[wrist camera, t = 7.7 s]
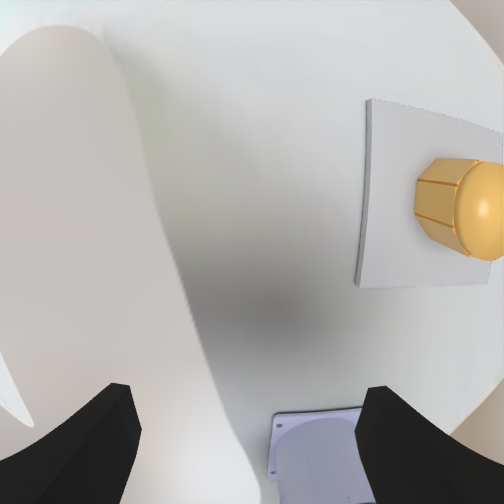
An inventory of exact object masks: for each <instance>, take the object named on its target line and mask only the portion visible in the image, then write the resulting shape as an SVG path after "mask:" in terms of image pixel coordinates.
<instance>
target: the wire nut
mask: <svg viewBox="0 0 504 504" xmlns="http://www.w3.org/2000/svg"><path fill="white" fill-rule="evenodd" d="M417 179H418V180H419V181H416V190H415V203H414V213H416V214H415V217H416V218H417V220H418V222H419V223H420V225H421V226H422V228H423V229H424V231H425V232H426V234H427V235H428V237H429V238H430V239H432V240H434V241H436V242H438V243H440V244H442V245H445V246H447V247H449V248H451V249H453V250H455V251H457V252H459V253H461V254H463V255H465V256H467V257H477V258H479V259H481V260H484V261H493V260H496V259H498V258H500V257H501V256H503V255H504V165H502V164H500V163H494V162H486V161H482V160H478V159H450V158H438V159H435V160H434V161H433V162H432V163H431V164H430V165H429V167H428V168H427V169H426V170H425V171H424V172H423V173H422V174H421V175H420V176H419V177H418V178H417Z"/></svg>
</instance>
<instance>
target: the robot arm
mask: <svg viewBox="0 0 504 504" xmlns="http://www.w3.org/2000/svg"><path fill="white" fill-rule="evenodd" d="M279 423H280V424H279ZM141 430H142V428H141V425H140V422H139V419H138V415H137V412H136V408H135V405H134V401H133V397H132V393H131V390H130V386H129V385H123V384H117V383H111V384H110V385H108V386H107V387H106V388H105V389H103V390H102V391H101V392H100V393H99V394H98V395H96V396H95V397H94V398H93V399H92V400H90V401H89V402H88V403H87V404H86V405H85V406H83V407H82V408H81V409H80V410H78V411H77V412H76V413H75V414H74V415H73V416H71V417H70V418H69V419H67V420H66V421H65V422H64V423H62V424H61V425H59V426H58V427H57V428H55V429H54V430H53V431H51V432H50V433H49V434H47V435H46V436H44V437H43V438H41V439H40V440H38V441H37V442H35V443H33V444H32V445H30V446H28V447H27V448H25V449H23V450H21V451H20V452H18V453H16V454H14V455H12V456H10V457H8V458H5V459H3V460H1V461H0V504H119V503H120V500H121V497H122V495H123V492H124V489H125V486H126V483H127V481H128V478H129V475H130V472H131V469H132V466H133V464H134V461H135V458H136V454H137V450H138V445H139V440H140V435H141ZM267 479H269V480H278V486H279V497H280V504H504V465H502V464H499V463H497V462H495V461H492V460H490V459H488V458H486V457H484V456H482V455H480V454H478V453H476V452H474V451H473V450H471V449H469V448H467V447H466V446H464V445H462V444H461V443H459V442H458V441H456V440H455V439H453V438H452V437H450V436H449V435H447V434H446V433H444V432H443V431H442V430H440V429H439V428H438V427H436V426H435V425H434V424H432V423H431V422H430V421H428V420H427V419H426V418H425V417H423V416H422V415H421V414H420V413H419V412H417V411H416V410H415V409H414V408H412V407H411V406H410V405H409V404H408V403H406V402H405V401H404V400H403V399H402V398H400V397H399V396H398V395H397V394H396V393H394V392H393V391H392V390H391V389H389V388H388V387H387V386H380V387H372V388H368V391H367V394H366V397H365V400H364V403H363V407H362V408H356V409H347V410H337V411H326V412H312V413H294V414H277V415H275V416H274V417H273V424H272V434H271V443H270V452H269V461H268V470H267Z"/></svg>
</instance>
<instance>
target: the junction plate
mask: <svg viewBox="0 0 504 504" xmlns="http://www.w3.org/2000/svg"><path fill="white" fill-rule="evenodd" d="M438 158H450V159H478V160H482V161H486V162H494V163H500V164H502V165H503V134H502V133H499V132H496V131H494V130H491V129H488V128H485V127H482V126H479V125H476V124H473V123H470V122H467V121H464V120H461V119H457V118H454V117H451V116H447V115H443V114H440V113H436V112H432V111H428V110H424V109H420V108H416V107H412V106H407V105H403V104H398V103H393V102H388V101H383V100H378V99H372V98H371V99H369V100H367V138H366V171H365V190H364V205H363V217H362V229H361V239H360V249H359V258H358V266H357V274H356V281H355V284H356V285H357V286H358V287H359V288H394V287H428V286H453V285H474V284H487V283H488V279H489V274H490V269H491V265H492V261H484V260H481V259H479V258H477V257H467V256H465V255H463V254H461V253H459V252H457V251H455V250H453V249H451V248H449V247H447V246H445V245H442V244H440V243H438V242H436V241H434V240H432V239H430V238H429V237H428V235H427V234H426V232H425V231H424V229H423V228H422V226H421V225H420V223H419V222H418V220H417V218H416V217H415V214H416V213H414V203H415V190H416V181H419V180H418V179H417V178H418V177H419V176H420V175H421V174H422V173H423V172H424V171H425V170H426V169H427V168H428V167H429V165H430V164H431V163H432V162H433V161H434V160H435V159H438Z"/></svg>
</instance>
